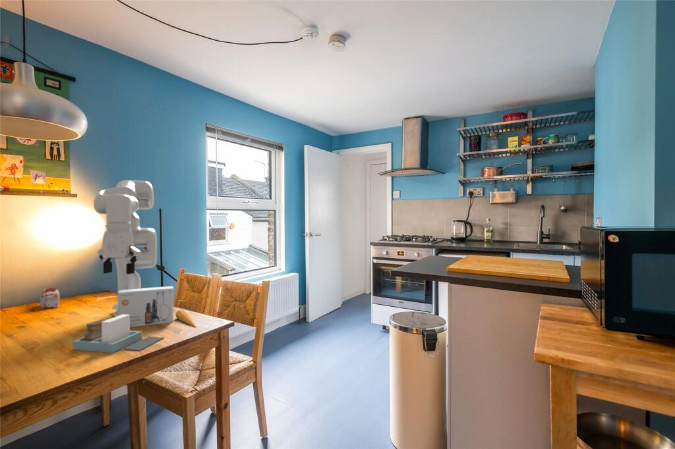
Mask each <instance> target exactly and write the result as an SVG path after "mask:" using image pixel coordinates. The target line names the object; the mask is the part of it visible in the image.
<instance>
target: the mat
mask: <svg viewBox="0 0 675 449" xmlns="http://www.w3.org/2000/svg"><path fill="white" fill-rule="evenodd" d="M161 340H164V337H162V336H147V337H145V338H143V339H141V340H139V341H137V342H135V343H132V344H130V345H128V346H126V347H124V348H123V350H126V351H133V352H134V351H137V352H141V351H143V350H145V349H147V348H149V347H151V346H153V345H154V344H156V343H158V342H161Z"/></svg>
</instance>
